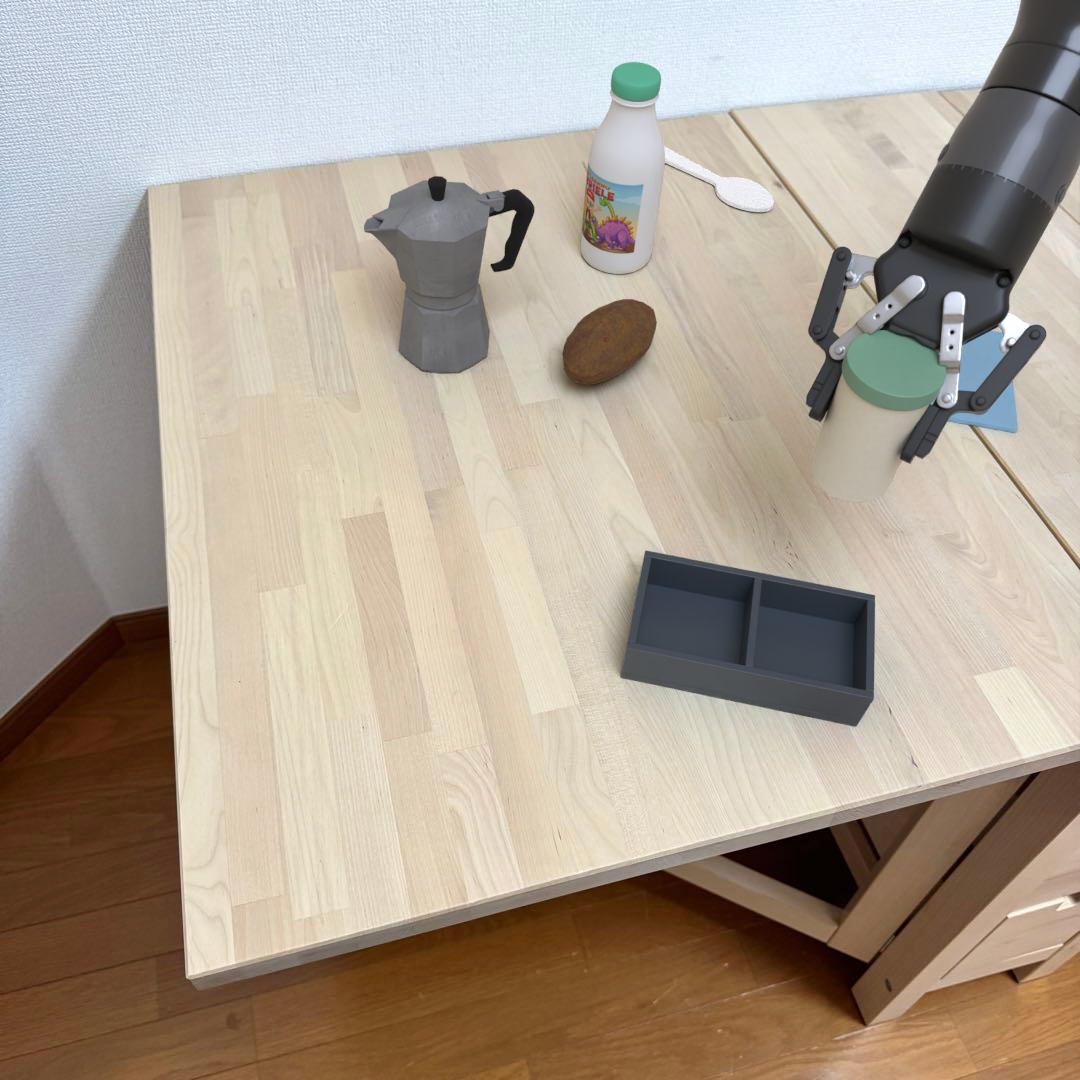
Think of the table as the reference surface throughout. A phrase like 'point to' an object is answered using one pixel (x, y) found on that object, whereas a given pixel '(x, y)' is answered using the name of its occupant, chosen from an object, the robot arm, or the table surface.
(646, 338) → the potato
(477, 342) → the coffeepot
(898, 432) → the container
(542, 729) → the table surface
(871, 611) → the divided tray
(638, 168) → the milk bottle
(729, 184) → the spoon
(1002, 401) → the mat
